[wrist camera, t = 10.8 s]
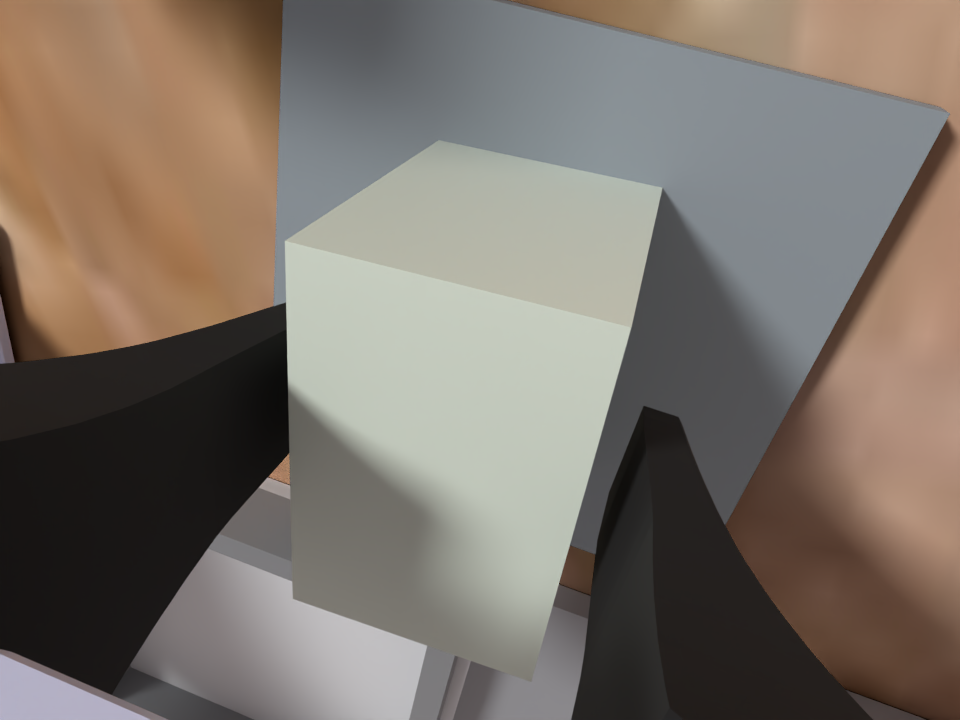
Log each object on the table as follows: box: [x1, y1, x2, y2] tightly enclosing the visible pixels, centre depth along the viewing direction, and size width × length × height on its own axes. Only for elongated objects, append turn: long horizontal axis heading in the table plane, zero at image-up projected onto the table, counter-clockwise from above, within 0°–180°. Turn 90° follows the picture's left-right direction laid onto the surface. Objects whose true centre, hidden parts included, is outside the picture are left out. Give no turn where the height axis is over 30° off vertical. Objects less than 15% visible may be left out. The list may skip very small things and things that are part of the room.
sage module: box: [285, 140, 662, 682], centre depth 13 cm, size 4×7×6 cm, turn 172°
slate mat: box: [274, 0, 950, 555], centre depth 16 cm, size 12×12×1 cm
